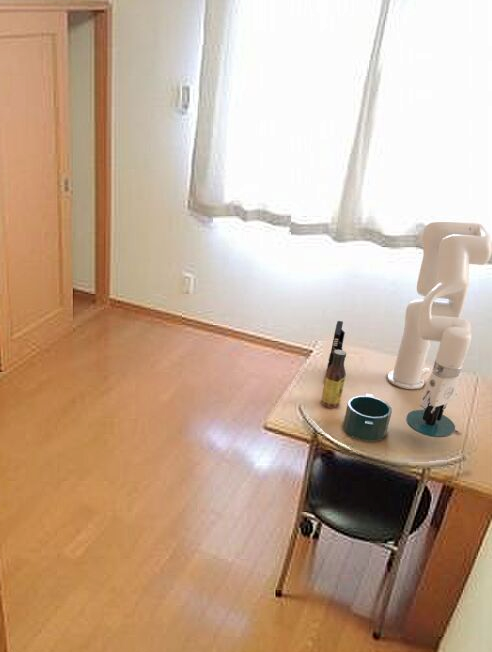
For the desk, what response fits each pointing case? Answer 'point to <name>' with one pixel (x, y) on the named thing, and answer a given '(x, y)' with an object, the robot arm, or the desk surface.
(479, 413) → the desk surface
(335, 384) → the sauce bottle
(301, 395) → the desk surface
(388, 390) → the desk surface
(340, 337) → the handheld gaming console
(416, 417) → the lid
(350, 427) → the pot
